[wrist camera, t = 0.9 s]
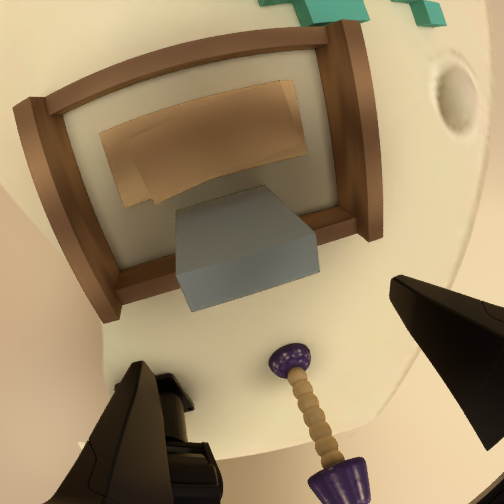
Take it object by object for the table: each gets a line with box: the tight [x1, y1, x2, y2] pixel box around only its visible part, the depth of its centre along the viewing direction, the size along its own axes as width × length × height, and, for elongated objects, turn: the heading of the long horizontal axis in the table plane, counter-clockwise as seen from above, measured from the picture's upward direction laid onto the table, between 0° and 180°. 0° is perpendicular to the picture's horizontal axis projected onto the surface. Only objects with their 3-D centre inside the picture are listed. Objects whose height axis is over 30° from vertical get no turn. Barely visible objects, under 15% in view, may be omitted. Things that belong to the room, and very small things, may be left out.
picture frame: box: [13, 19, 383, 324], centre depth 15 cm, size 14×19×4 cm
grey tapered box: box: [176, 185, 320, 312], centre depth 16 cm, size 2×6×8 cm, turn 102°
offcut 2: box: [125, 80, 301, 205], centre depth 15 cm, size 4×9×2 cm, turn 109°
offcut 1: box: [99, 80, 307, 208], centre depth 17 cm, size 5×12×2 cm, turn 102°
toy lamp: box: [269, 344, 371, 504], centre depth 20 cm, size 5×5×17 cm
